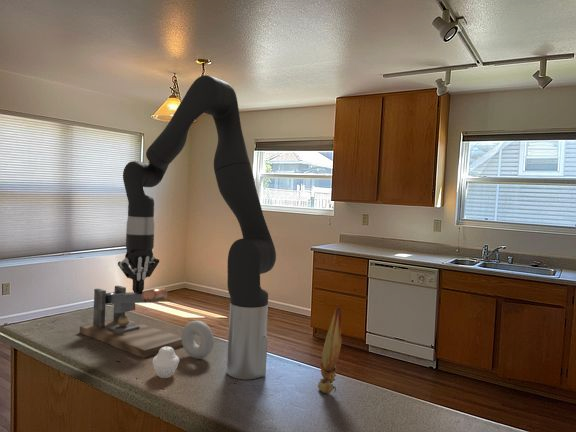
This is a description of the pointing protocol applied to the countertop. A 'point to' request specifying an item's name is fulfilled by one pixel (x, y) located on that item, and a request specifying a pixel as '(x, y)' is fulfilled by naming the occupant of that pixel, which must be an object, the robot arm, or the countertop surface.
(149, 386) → the countertop surface
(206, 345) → the donut
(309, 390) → the countertop surface
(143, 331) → the cracker base
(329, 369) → the tan tall pointed piece
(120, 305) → the lever
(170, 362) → the white rounded bulbous piece
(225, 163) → the robot arm
